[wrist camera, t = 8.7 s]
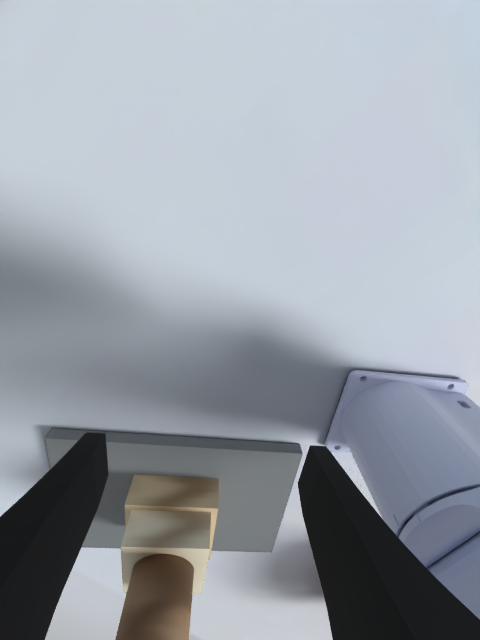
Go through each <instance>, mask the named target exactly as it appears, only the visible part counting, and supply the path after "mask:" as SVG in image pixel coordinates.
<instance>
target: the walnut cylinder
mask: <svg viewBox="0 0 480 640" xmlns="http://www.w3.org/2000/svg"><path fill="white" fill-rule="evenodd" d="M193 578H194V567H193V565H192V564H191V563H190V562H189V561H188V560H186V559H185V558H182V557H180V556H177V555H172V554H154V555H149V556H146V557H144V558H142V559H140V560H139V561H137V562H136V563H135V565H134V566H133V569H132V573H131V578H130V582H129V586H128V590H127V594H126V598H125V602H124V607H123V611H122V615H121V619H120V623H119V627H118V631H117V636H116V640H189V627H190V615H191V603H192V590H193Z"/></svg>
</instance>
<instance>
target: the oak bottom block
mask: <svg viewBox="0 0 480 640" xmlns="http://www.w3.org/2000/svg"><path fill="white" fill-rule="evenodd" d="M218 499H219V479H212V478H192V477H172V476H152V475H134V476H133V480H132V483H131V486H130V489H129V492H128V496H127V499H126V502H125V527H127V523H128V520H129V517H130V513H131V510H132V509H135V510H161V511H187V512H211V528H210V550H209V556H208V560H210V556H211V550H212V544H213V538H214V532H215V526H216V519H217V513H218Z"/></svg>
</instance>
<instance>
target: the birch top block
mask: <svg viewBox="0 0 480 640" xmlns="http://www.w3.org/2000/svg"><path fill="white" fill-rule="evenodd" d="M210 528H211V512H187V511H161V510H135V509H132V510H131V513H130V517H129V520H128V523H127V527H126V530H125V534H124V537H123V541H122V544H121V559H122V578H123V593H127V590H128V586H129V582H130V578H131V573H132V569H133V566H134V565H135V563H136V562H137V561H139V560H140V559H142V558H144V557H146V556H149V555H154V554H172V555H177V556H180V557H182V558H185V559H186V560H188V561H189V562H190V563H191V564H192V565H193V567H194V578H193V590H192V593H193V594H202V593H203V587H204V581H205V575H206V568H207V562H208V556H209V550H210Z"/></svg>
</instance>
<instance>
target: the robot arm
mask: <svg viewBox="0 0 480 640" xmlns="http://www.w3.org/2000/svg"><path fill="white" fill-rule="evenodd" d="M362 376H364V378H362V379H360V378H361V377H362ZM448 385H449V386H448ZM468 387H469V384H468V383H467V382H466V381H465V380H460V379H449V378H438V377H427V376H416V375H406V374H395V373H384V372H373V371H362V370H354V371H352V372H351V373H350V374H349V376H348V379H347V382H346V384H345V387H344V390H343V393H342V396H341V399H340V401H339V404H338V407H337V410H336V413H335V416H334V419H333V421H332V424H331V427H330V430H329V433H328V436H327V439H326V441H325V446H310V447H309V451H308V454H307V457H306V460H305V463H304V466H303V469H302V472H301V475H300V478H299V481H298V488H299V495H300V501H301V507H302V513H303V518H304V522H305V525H306V529H307V533H308V537H309V541H310V544H311V548H312V552H313V556H314V559H315V563H316V567H317V571H318V574H319V578H320V582H321V586H322V589H323V593H324V598H325V602H326V606H327V611H328V616H329V621H330V626H331V632H332V637H333V640H480V407H479V406H478V405H476V404H475V403H474V402H473V401H472V400H471V399H470V398H468V397H467V396H466V395H465V393H466V391H467V390H468ZM337 445H338V446H337ZM330 451H335V452H351V453H352V455H353V457H354V459H355V462H356V464H357V466H358V468H359V470H360V472H361V474H362V476H363V478H364V481H365V483H366V485H367V487H368V489H369V491H370V493H371V495H372V497H373V500H374V502H375V504H376V506H377V508H378V510H379V512H380V514H381V517H382V518H381V517H380V516H379V514H378V513H377V512H376V511H375V509H374V508H373V507H372V506H371V504H370V503H369V502H368V501H367V499H366V498H365V497H364V496H363V494H362V493H361V492H360V491H359V489H358V488H357V487H356V485H355V484H354V483H353V481H352V480H351V479H350V478H349V476H348V475H347V474H346V472H345V471H344V470H343V468H342V467H341V466H340V464H339V463H338V461H337V460H336V459H335V457H334V456H333V455H332V453H331V452H330ZM108 475H109V473H108V459H107V446H106V433H91V432H87V433H85V434H84V435H83V436H82V437H81V438H80V439H79V440H78V441H77V442H76V443H75V444H74V445H73V447H72V448H71V449H70V450H69V451H68V452H67V453H66V454H65V455H64V456H63V457H62V458H61V459H60V460H59V461H58V462H57V463H56V464H55V465H54V466H53V467H52V468H51V469H50V470H49V471H48V472H47V473H46V474H45V475H44V476H43V477H42V478H41V479H40V480H39V481H38V482H37V483H36V484H35V485H34V486H33V487H32V488H31V489H30V490H29V491H28V492H27V493H26V494H25V495H24V496H23V497H21V498H20V499H19V500H18V501H17V502H16V503H15V504H14V505H13V506H12V507H11V508H9V509H8V510H7V511H6V512H5V513H4V514H3V515H2V516H1V517H0V640H45V636H46V634H47V631H48V628H49V625H50V623H51V620H52V617H53V614H54V611H55V609H56V606H57V603H58V601H59V598H60V596H61V593H62V591H63V588H64V586H65V584H66V581H67V579H68V577H69V575H70V572H71V570H72V568H73V565H74V563H75V561H76V558H77V556H78V554H79V551H80V549H81V547H82V544H83V542H84V540H85V538H86V535H87V533H88V531H89V528H90V526H91V524H92V521H93V519H94V516H95V514H96V512H97V509H98V507H99V504H100V501H101V498H102V494H103V491H104V488H105V485H106V482H107V478H108Z"/></svg>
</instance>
